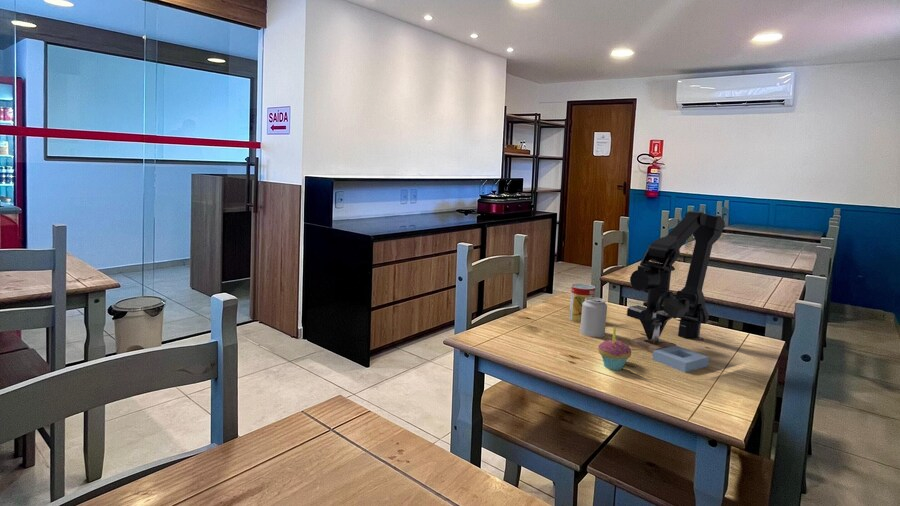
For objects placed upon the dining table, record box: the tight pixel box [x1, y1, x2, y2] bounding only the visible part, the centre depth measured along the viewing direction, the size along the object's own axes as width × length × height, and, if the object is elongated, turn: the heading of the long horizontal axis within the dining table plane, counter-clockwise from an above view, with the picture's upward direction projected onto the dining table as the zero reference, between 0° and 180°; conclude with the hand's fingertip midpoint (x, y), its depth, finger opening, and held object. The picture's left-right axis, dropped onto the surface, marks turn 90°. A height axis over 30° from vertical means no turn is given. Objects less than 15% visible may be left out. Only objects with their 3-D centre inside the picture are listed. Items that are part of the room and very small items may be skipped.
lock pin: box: [647, 320, 662, 345], centre depth 155 cm, size 4×4×8 cm
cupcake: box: [597, 324, 632, 371], centre depth 141 cm, size 9×8×12 cm
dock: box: [652, 344, 710, 373], centre depth 144 cm, size 10×10×4 cm
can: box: [579, 296, 608, 338], centre depth 166 cm, size 8×8×12 cm
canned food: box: [568, 283, 596, 324], centre depth 184 cm, size 8×8×12 cm
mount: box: [629, 335, 677, 354], centre depth 156 cm, size 9×9×2 cm
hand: (653, 338), depth 156 cm, fingers closed on lock pin, 3 cm apart
